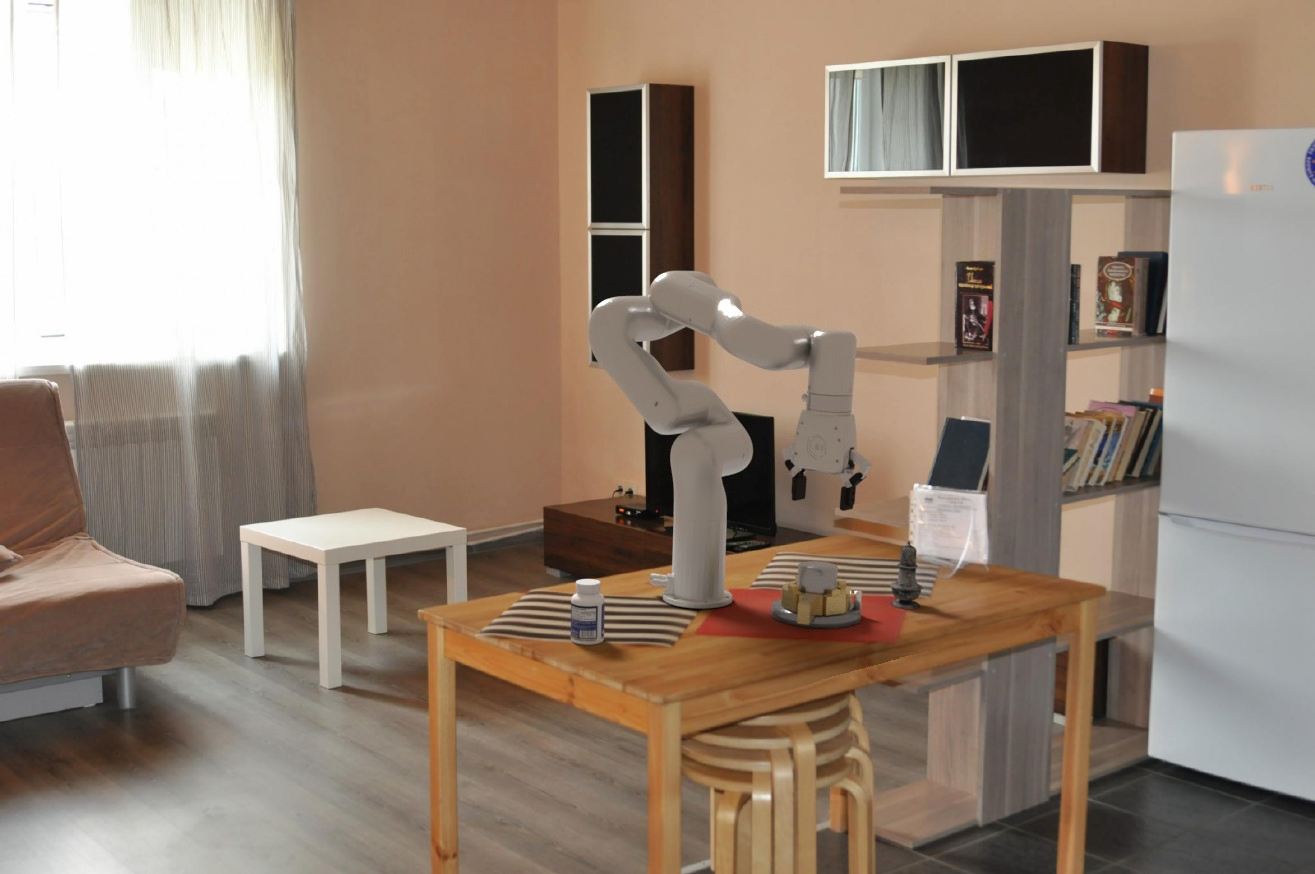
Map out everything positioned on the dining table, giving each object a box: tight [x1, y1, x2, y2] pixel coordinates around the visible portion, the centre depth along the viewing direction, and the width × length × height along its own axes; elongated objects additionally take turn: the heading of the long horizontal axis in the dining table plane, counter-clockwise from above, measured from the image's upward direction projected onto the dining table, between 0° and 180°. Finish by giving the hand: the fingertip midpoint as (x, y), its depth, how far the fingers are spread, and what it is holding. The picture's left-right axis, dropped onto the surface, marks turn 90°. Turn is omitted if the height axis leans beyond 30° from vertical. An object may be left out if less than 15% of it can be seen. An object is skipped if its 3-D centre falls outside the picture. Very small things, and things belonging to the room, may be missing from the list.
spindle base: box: [770, 560, 863, 630], centre depth 232 cm, size 16×16×9 cm
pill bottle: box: [570, 578, 606, 646], centre depth 213 cm, size 5×5×10 cm
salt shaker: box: [889, 540, 924, 610], centre depth 241 cm, size 6×6×12 cm
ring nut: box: [780, 575, 853, 625], centre depth 229 cm, size 18×12×4 cm, turn 163°
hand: (822, 504), depth 224 cm, fingers open, 9 cm apart
